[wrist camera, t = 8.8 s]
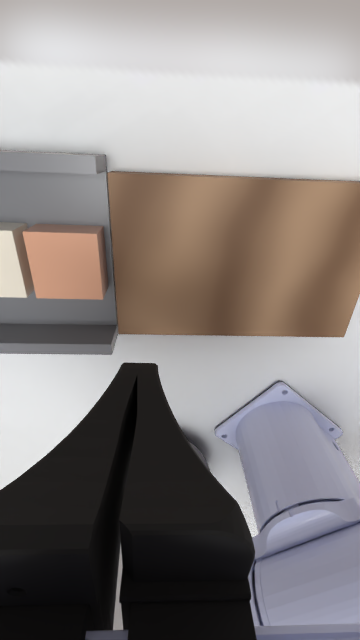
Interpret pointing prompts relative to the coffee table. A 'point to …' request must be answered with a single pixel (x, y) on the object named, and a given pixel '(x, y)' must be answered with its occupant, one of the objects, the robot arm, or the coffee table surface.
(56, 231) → the terracotta tile
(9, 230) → the cream tile
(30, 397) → the coffee table surface
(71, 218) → the tray
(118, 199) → the brown wooden board
